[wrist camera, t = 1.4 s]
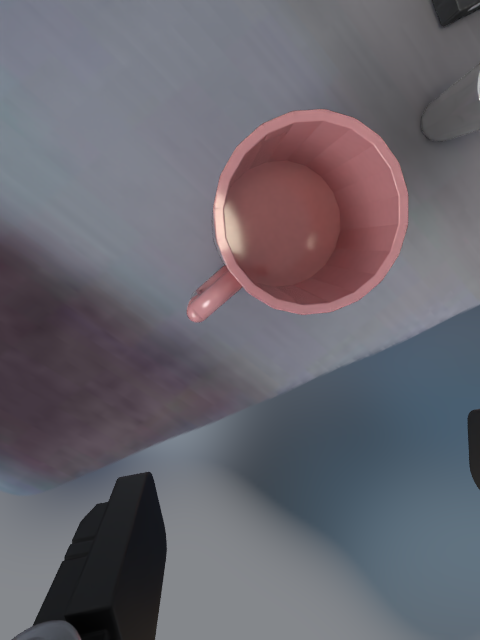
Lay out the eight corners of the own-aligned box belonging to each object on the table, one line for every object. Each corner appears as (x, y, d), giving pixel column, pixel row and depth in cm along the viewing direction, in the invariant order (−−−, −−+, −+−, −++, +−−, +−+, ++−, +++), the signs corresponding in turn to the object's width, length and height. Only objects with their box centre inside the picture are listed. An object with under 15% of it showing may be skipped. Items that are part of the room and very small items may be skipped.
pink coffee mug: (288, 125, 31) (329, 62, 20) (369, 233, 33) (445, 228, 23) (149, 249, 32) (119, 251, 21) (236, 346, 34) (249, 392, 24)
